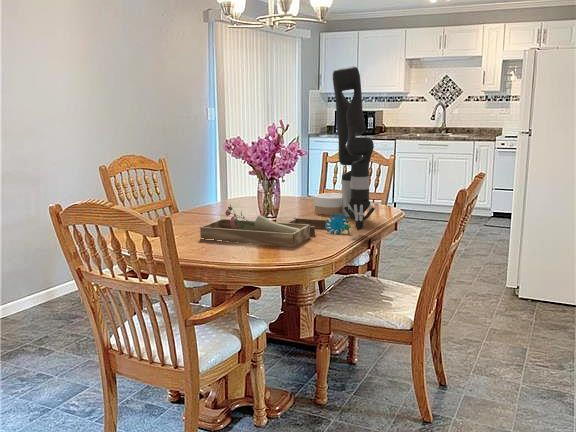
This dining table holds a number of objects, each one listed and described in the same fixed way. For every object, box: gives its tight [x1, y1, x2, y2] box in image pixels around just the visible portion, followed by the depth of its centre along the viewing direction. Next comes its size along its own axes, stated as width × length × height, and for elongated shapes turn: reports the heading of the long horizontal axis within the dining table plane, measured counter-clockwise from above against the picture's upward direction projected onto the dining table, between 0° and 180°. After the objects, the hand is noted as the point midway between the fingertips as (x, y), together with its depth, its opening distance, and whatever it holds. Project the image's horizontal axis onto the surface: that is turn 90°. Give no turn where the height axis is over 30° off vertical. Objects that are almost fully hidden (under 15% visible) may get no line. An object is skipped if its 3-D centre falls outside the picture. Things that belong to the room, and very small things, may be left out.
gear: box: [325, 213, 352, 235], centre depth 239 cm, size 11×6×10 cm
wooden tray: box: [199, 218, 311, 248], centre depth 230 cm, size 18×40×5 cm, turn 68°
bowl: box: [314, 192, 342, 216], centre depth 285 cm, size 17×17×8 cm
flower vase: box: [224, 204, 299, 233], centre depth 232 cm, size 12×12×35 cm
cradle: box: [285, 217, 327, 236], centre depth 243 cm, size 16×14×4 cm
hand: (359, 229), depth 234 cm, fingers closed
